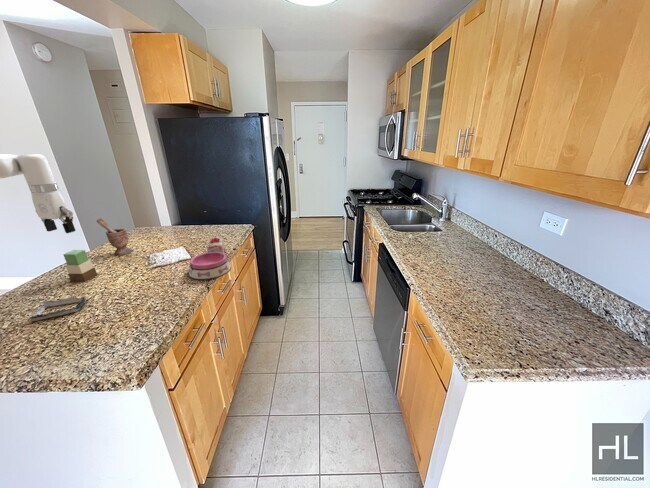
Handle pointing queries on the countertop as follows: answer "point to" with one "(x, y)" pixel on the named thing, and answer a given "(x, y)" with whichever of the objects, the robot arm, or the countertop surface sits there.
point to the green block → (76, 257)
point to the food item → (216, 245)
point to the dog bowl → (209, 266)
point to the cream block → (80, 268)
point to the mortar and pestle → (116, 238)
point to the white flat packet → (169, 256)
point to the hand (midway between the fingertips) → (61, 231)
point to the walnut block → (83, 276)
